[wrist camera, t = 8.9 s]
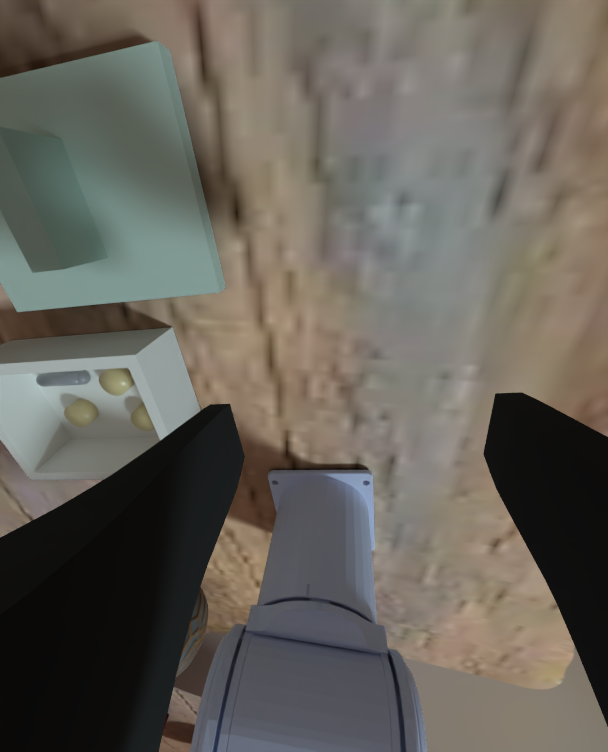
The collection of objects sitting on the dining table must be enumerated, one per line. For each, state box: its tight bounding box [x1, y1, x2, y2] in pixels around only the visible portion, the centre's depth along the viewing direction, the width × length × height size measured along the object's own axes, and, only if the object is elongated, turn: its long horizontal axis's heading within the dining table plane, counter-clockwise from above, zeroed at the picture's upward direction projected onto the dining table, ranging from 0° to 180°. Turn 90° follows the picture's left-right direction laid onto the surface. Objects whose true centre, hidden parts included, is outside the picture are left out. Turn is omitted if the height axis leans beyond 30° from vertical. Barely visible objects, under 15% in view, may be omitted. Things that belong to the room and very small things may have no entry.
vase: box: [176, 589, 208, 677], centre depth 32 cm, size 7×7×9 cm
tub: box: [0, 327, 201, 480], centre depth 21 cm, size 9×12×4 cm
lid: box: [0, 41, 226, 312], centre depth 15 cm, size 10×13×5 cm
